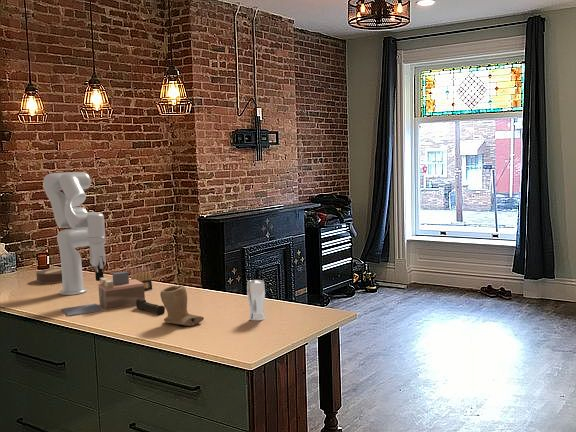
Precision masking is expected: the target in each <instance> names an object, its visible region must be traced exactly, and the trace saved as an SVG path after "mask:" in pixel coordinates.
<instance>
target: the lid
mask: <svg viewBox="0 0 576 432" xmlns="http://www.w3.org/2000/svg"><path fill="white" fill-rule="evenodd" d="M111 274H112V282H113V288H107V287H106V286H104V285H102V284H100V283H98V285H97V286H98V289H99V288H101V289H103V290H104V291H113V290H119V289H126V288H133V287H140V286H144V283H142V282H140V281H138V280H136V279H133V280H131V279H129V272H128V271H117V272H112V273H111Z"/></svg>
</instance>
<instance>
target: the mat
mask: <svg viewBox="0 0 576 432" xmlns="http://www.w3.org/2000/svg"><path fill="white" fill-rule="evenodd" d="M60 310H61V311H62V312H63V313H64V314H65V315H66V316H68V317H73V316H80V315H85V314H93V313H99V312H103V311H105V308H104V307H102V306H101V305H100V304H97V303H90V304H84V305H78V306H72V307H64V308H60Z"/></svg>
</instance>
